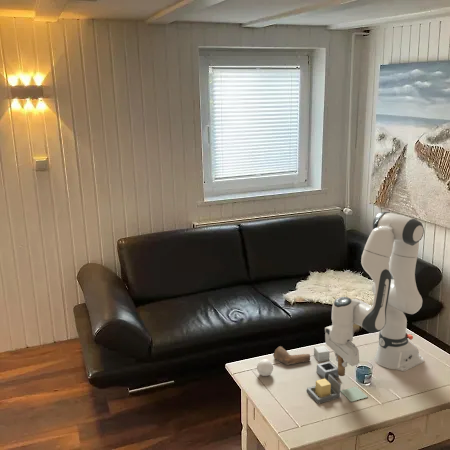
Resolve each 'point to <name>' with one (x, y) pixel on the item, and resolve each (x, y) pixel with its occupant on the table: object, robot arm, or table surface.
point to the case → (335, 394)
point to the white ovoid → (264, 367)
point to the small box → (321, 353)
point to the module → (322, 388)
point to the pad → (353, 394)
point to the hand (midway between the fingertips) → (341, 363)
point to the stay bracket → (327, 370)
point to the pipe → (289, 357)
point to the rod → (340, 366)
